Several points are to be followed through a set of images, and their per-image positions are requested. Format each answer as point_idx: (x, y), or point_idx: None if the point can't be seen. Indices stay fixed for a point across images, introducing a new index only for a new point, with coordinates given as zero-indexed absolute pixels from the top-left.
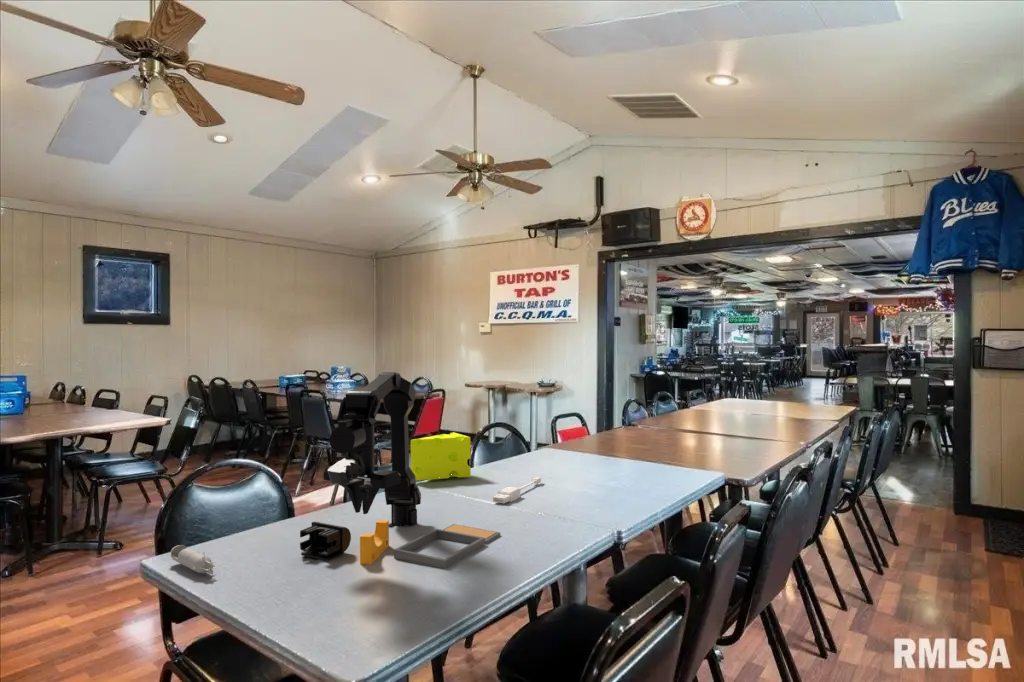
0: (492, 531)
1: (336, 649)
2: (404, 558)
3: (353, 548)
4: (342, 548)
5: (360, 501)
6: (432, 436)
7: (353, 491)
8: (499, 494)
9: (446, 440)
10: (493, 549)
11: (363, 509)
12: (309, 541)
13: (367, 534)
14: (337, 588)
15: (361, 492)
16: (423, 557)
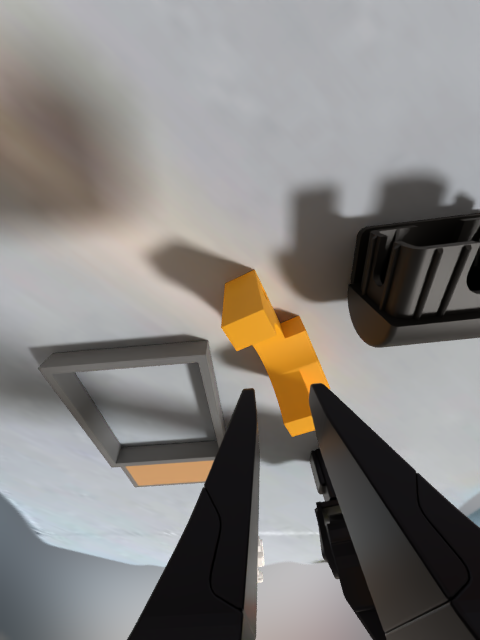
0: (149, 485)
1: None
2: (174, 346)
3: (350, 330)
4: (354, 290)
5: (332, 472)
6: None
7: (439, 605)
8: (258, 551)
9: None
10: (92, 448)
11: (248, 411)
12: None
13: (254, 337)
14: (141, 51)
15: (370, 572)
16: (107, 359)
